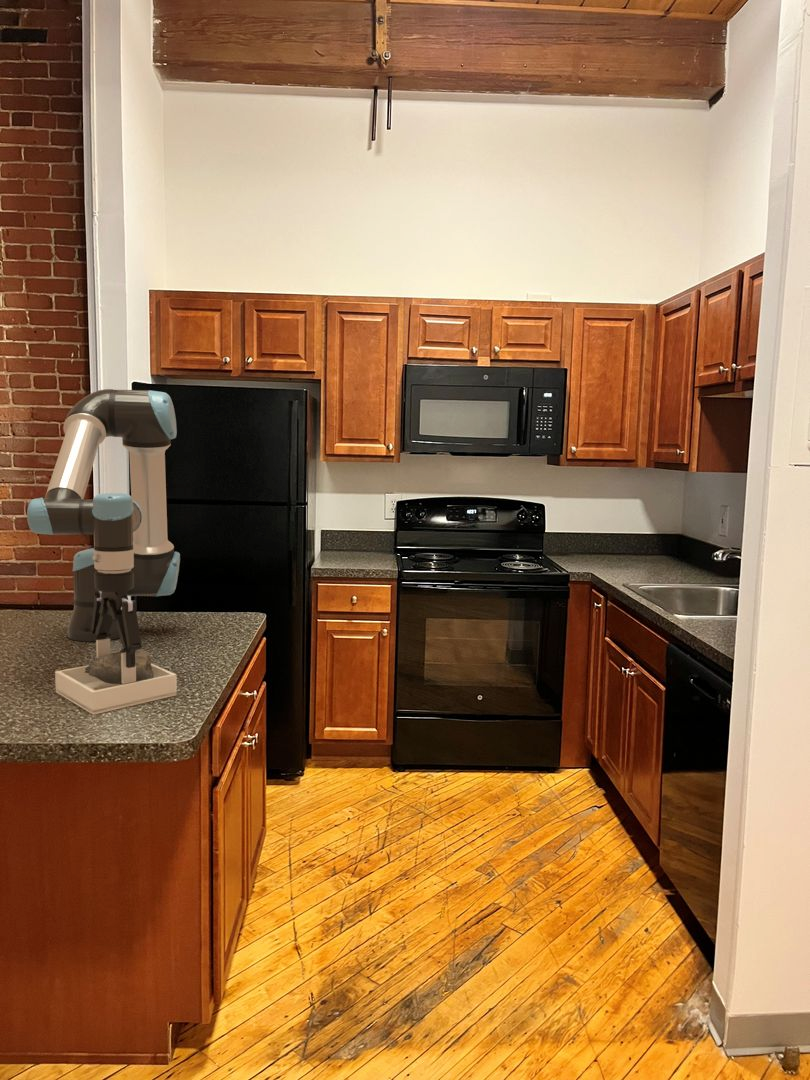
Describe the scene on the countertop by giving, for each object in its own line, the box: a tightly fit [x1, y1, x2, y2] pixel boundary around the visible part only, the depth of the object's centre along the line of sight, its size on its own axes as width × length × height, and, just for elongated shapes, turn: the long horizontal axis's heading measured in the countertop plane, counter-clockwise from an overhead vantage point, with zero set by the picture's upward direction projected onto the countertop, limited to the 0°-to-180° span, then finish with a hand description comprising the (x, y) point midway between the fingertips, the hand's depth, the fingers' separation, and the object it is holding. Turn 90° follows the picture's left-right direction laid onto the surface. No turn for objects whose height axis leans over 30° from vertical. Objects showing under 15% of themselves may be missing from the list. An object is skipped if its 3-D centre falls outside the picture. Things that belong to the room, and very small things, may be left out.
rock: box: [84, 648, 154, 684], centre depth 160 cm, size 13×9×6 cm, turn 105°
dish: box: [54, 662, 178, 715], centre depth 160 cm, size 18×18×4 cm
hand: (116, 675), depth 160 cm, fingers closed on rock, 10 cm apart
